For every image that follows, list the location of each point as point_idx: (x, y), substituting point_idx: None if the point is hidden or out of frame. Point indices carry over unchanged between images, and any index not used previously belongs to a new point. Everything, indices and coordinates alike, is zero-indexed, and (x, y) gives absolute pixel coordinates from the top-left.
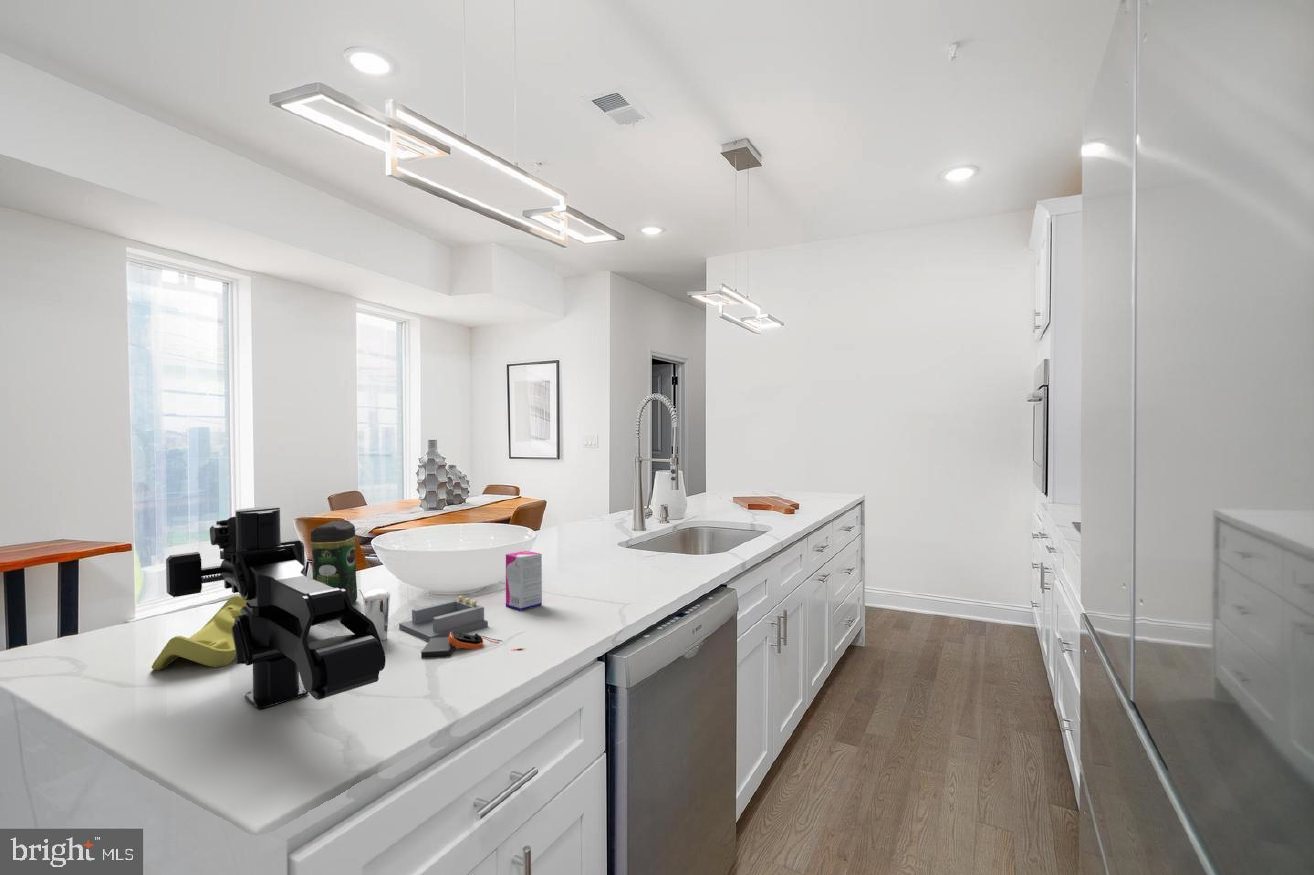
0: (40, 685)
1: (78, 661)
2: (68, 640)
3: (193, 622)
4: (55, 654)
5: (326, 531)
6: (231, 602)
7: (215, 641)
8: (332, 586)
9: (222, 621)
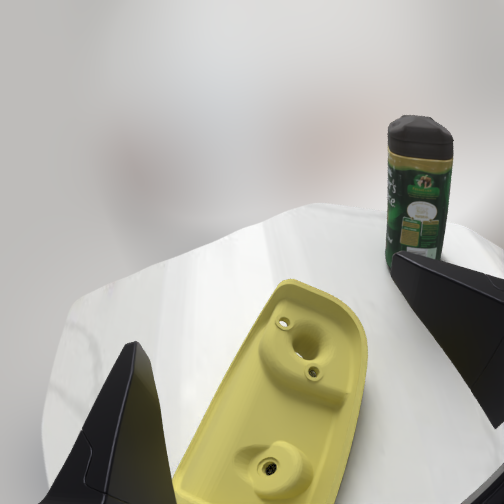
0: (58, 437)
1: (99, 367)
2: (110, 288)
3: (226, 271)
4: (90, 327)
5: (427, 136)
6: (282, 296)
7: (275, 449)
8: (428, 240)
9: (278, 373)
